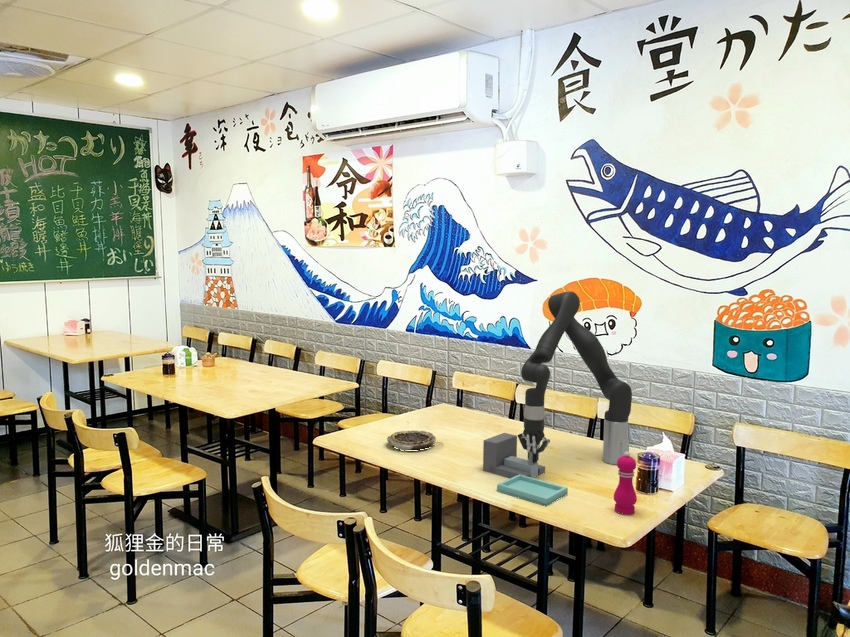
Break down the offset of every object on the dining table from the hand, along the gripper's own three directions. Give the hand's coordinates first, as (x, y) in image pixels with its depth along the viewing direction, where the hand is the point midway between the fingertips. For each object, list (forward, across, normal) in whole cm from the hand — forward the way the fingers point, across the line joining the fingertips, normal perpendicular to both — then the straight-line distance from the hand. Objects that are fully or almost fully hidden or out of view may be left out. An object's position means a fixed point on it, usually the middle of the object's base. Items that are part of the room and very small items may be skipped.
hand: (532, 461), depth 246 cm
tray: (+6, -9, +14) cm, 17 cm away
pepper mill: (+6, -40, +7) cm, 41 cm away
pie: (+7, +60, +2) cm, 60 cm away
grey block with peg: (+6, +5, 0) cm, 8 cm away
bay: (+6, +8, 0) cm, 10 cm away
